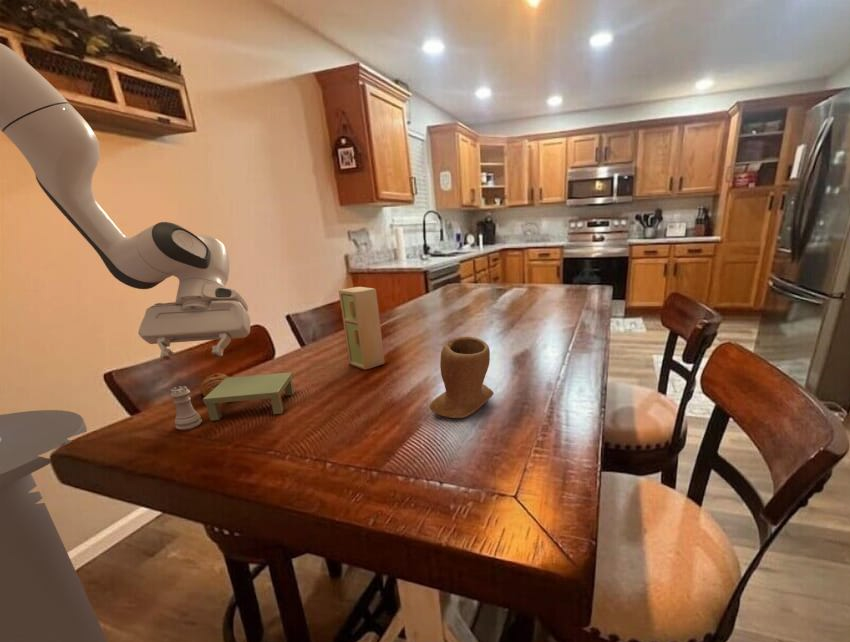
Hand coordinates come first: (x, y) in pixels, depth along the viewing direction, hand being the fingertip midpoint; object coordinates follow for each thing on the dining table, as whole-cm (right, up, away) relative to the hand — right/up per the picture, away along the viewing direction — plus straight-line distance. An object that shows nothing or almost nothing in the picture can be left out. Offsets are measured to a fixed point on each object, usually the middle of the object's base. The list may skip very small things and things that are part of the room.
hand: (191, 356), depth 83 cm
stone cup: (+57, -11, +2) cm, 58 cm away
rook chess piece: (+2, -14, -3) cm, 14 cm away
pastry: (-3, -8, +13) cm, 16 cm away
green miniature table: (+10, -11, +5) cm, 16 cm away
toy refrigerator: (+27, -2, +30) cm, 40 cm away
